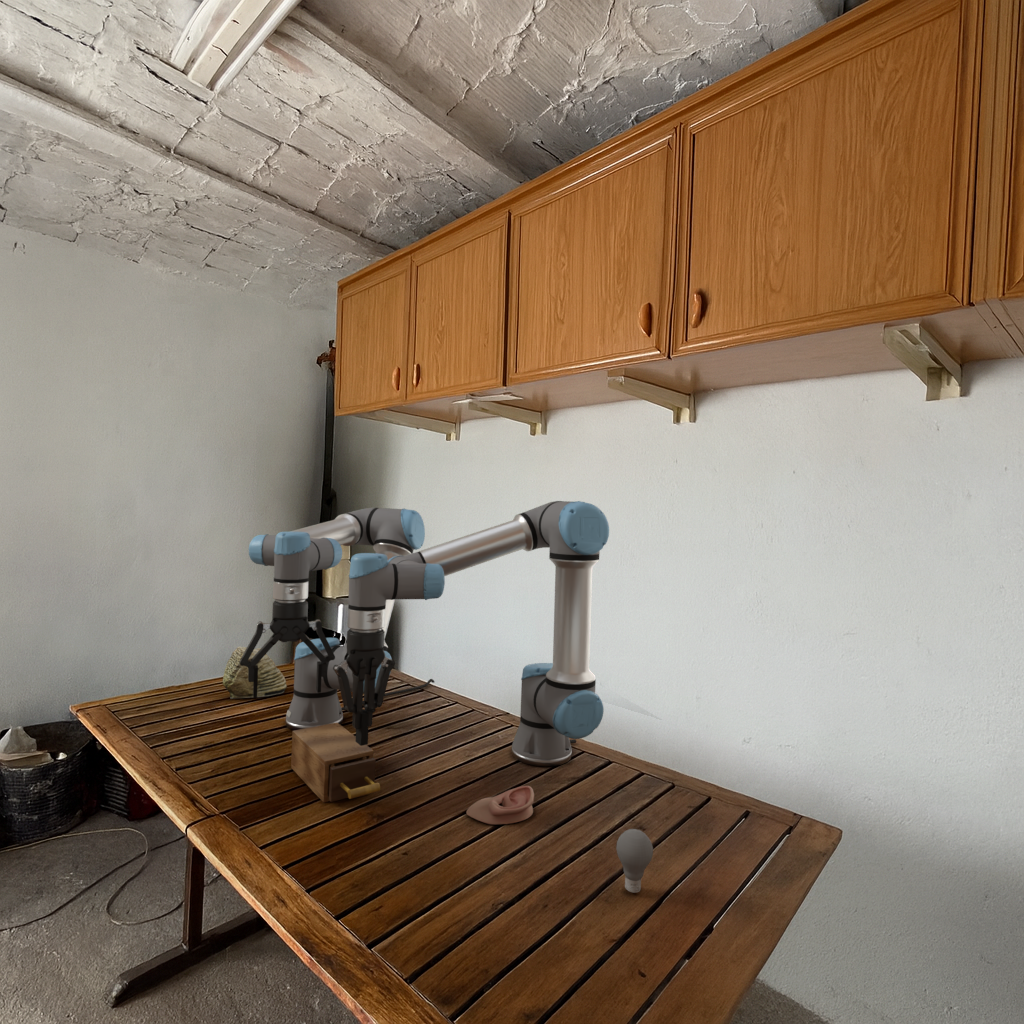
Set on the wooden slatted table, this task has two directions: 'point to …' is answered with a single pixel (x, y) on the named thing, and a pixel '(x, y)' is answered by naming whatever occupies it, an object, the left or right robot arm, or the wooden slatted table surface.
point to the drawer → (352, 779)
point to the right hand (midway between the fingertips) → (361, 742)
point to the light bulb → (634, 857)
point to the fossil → (238, 677)
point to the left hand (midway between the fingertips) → (287, 693)
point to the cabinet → (323, 754)
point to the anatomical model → (504, 807)
